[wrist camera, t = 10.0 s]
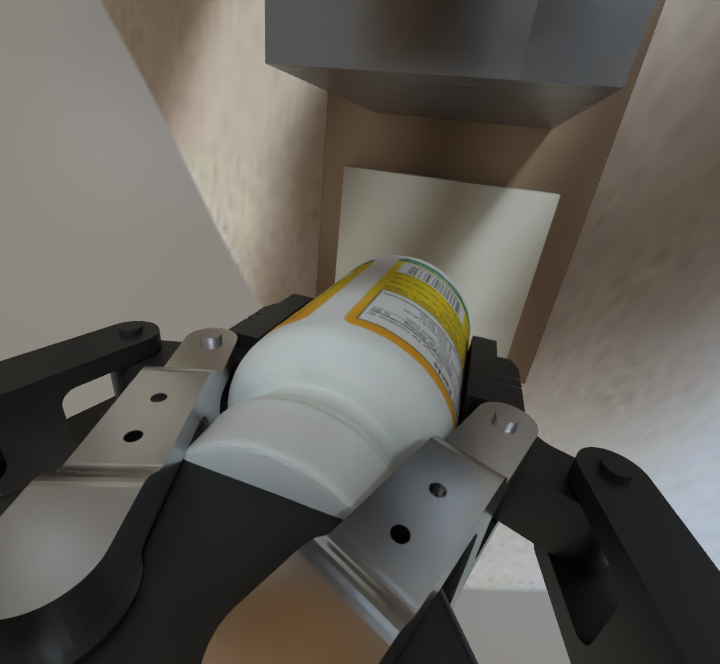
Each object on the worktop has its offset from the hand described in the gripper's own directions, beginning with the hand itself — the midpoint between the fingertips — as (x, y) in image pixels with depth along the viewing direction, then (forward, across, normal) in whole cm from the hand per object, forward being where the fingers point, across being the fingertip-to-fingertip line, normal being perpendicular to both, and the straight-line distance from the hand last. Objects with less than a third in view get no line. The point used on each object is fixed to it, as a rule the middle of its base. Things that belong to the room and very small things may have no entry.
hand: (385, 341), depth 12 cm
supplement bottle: (+2, 0, 0) cm, 2 cm away
